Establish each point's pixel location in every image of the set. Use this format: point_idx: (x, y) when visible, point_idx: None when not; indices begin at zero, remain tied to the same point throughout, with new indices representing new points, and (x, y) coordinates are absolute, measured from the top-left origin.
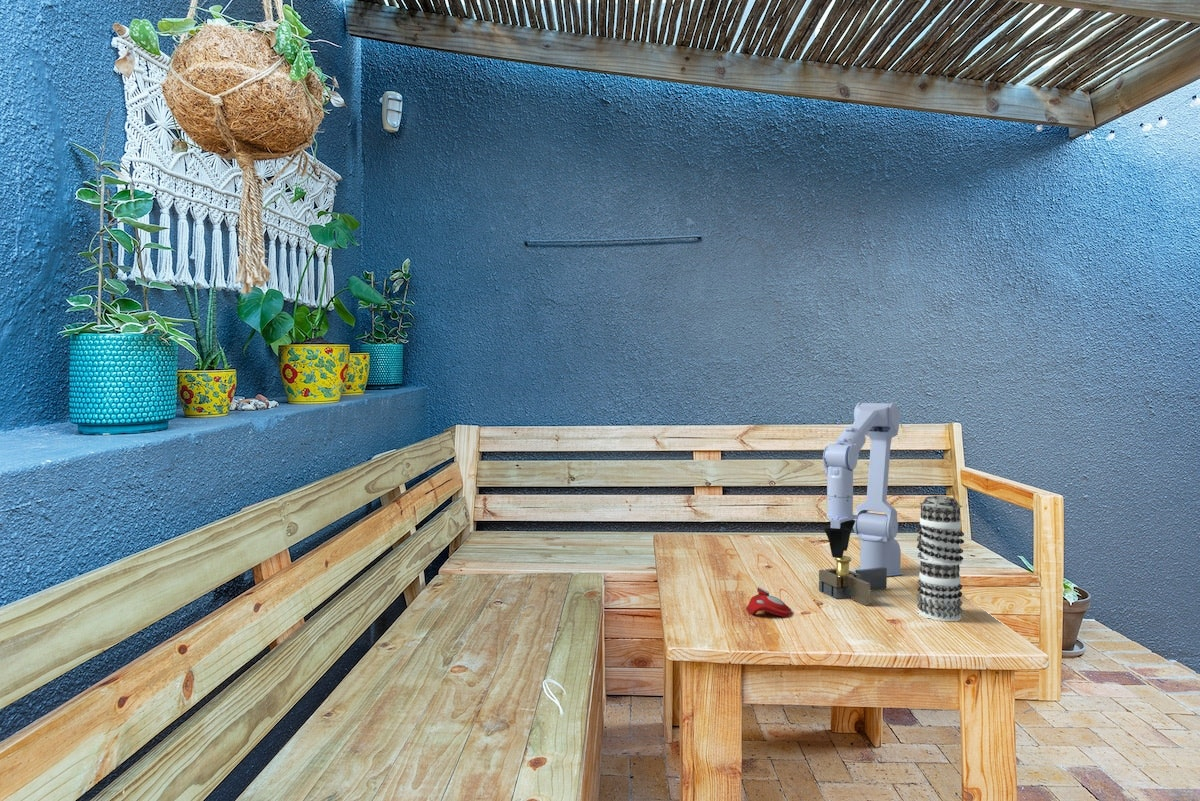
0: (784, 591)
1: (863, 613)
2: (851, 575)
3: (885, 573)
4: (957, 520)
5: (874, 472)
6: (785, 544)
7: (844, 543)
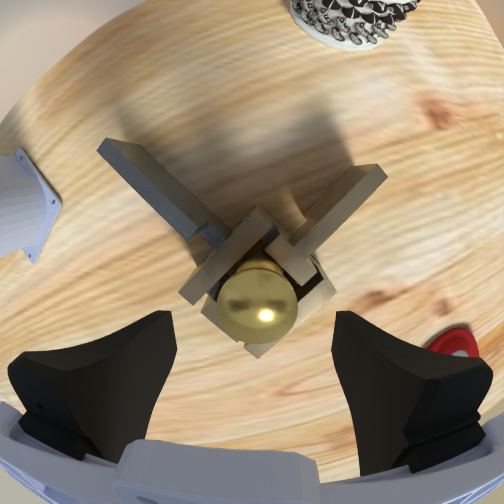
0: (299, 385)
1: (417, 182)
2: (287, 244)
3: (118, 142)
4: None
5: None
6: (2, 377)
7: (400, 339)
